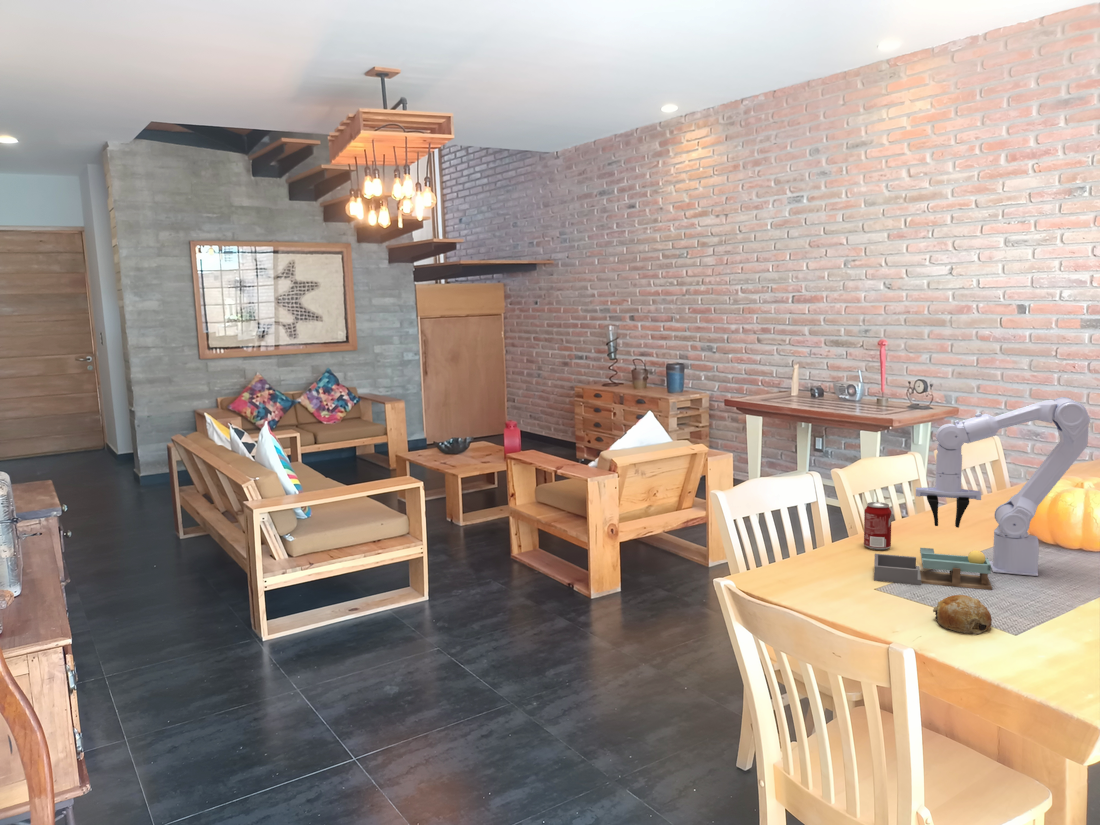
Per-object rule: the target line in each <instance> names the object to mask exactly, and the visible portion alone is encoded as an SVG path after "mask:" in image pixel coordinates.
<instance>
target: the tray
mask: <svg viewBox="0 0 1100 825" xmlns="http://www.w3.org/2000/svg"><path fill="white" fill-rule="evenodd" d="M873 563H874V566H873V567H874V569H873V572H874V573H873V581H875V582H883V583H884V582H885V583H886V582H887V583H895V584H896V583H897V584H905V585H907V584H908V585H916V586H917V585H918V586H922V583H921V575H920V570H921V569H920V566H918V565H917V557H916V556H908V555H899V554H898V555H896V554H884V553H883V554H882V553H874V562H873Z"/></svg>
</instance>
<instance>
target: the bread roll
mask: <svg viewBox="0 0 1100 825" xmlns="http://www.w3.org/2000/svg"><path fill="white" fill-rule="evenodd" d="M932 613H935V614H934V615H935V618H934V619H935V620H936V622H937V624H938V625H939V626H940V627H943V628H944V629H945V630H950V631H953V632H955V633H961V634H971V635H972V634H973V635H980V634H982V633H984V632H986V631H988V630H990V629H991V627H992V623H993V621H992V619H993V618H992V615H991V613H990V611H989V609H988V608H987V607H986V606H985V604H983V603H982V602H981V601H980V599H978V598H973V596H968V595H965V594H954V595H950V596H947V597H945V598H943V599H942V600H940V601H937V605H936V606H934V607H933V609H932Z"/></svg>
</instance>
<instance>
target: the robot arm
mask: <svg viewBox="0 0 1100 825" xmlns="http://www.w3.org/2000/svg"><path fill="white" fill-rule="evenodd" d="M974 415H975V416H973V417H971V418H966V419H964V420H959V419H957V420H954V424H953V423H945V424H943V425H941V426H940V427H939V428H938V429H937V431H936V434H935V438H936V441H937V442H938V444H937V447H936V457H935V461H936V462H935V487H915V497H919V498H920V497H926V500H927V503H928V504H929V507H930V509H931V511H932V515H933V520H934V522H933V523H934V526H935V527H939V516H938V513H939V511H938V510H939V498H945V499H946V498H947V499H950V498H951V499H956V508H955V509H956V510H955V511H956V513H955V521H954V522H955V524H954V526H955V528H957V529H959V528H960V526H961V525H960V524H961V521H962V518H963V516H964V514H965V511H966V510H967V509H968V506H969V505H970V500H976V501H981V500H982V491H981V490H973V489H965V488H962V475H963V474H962V469H963V466H962V465H963V454H962V447H963V446H964V444H971V443H974V442H977V441H978V442H979V441H982V440H985V439H989V438H992V437H995V436H996V435H997V434H998V432H999V430H1001V429H1005V428H1009V427H1010V428H1011V427H1013V426H1017V425H1021V424H1026V423H1030V422H1033V421H1039V422H1044V423H1050V424H1054V425H1055V427H1056V430H1057V433H1058V437H1059V441H1058V443H1057V444H1056V446H1055V447H1054V448H1053V449H1052V450H1051V452H1050V453H1049V454H1048V455H1047V457H1046V458H1045V459H1044V461H1042V462H1041V464H1040V465H1039V466H1038V467H1037V469H1036V470H1035V471H1034V473H1032V475H1031V476H1030V477H1029V479H1028V480H1027V481H1026V483H1025V484H1024V485H1023V486H1022V487H1021V489H1020V490H1019V491H1018V492H1017V493H1016V494H1014V495H1013V496H1011V497H1010V498H1009V500H1008V501H1007V502H1004V503H1003V504H1000V505H999V506H997V507H996V509H995V511H994V519H995V521H996V523H997V524H998V525H997V527H996V528H995V529H994V530H993V549H992V550H993V551H992V552H993V553H992V560H989V562H990V565H991V571H992V572H993V573H999V574H1000V573H1001V574H1012V575H1023V576H1032V577H1033V576H1035V577H1038V576H1039V557H1040V556H1039V555H1040V546H1039V545H1040V544H1039V538H1038V536H1037V535H1031V534H1029V532H1028V531H1029V529H1030V524H1031V521H1032V519H1033V518H1034V517H1035V515H1036V512H1037V511H1038V510H1037V509H1038V507H1039V506H1040V504H1041V503H1042V502H1043V501H1044V499H1045V498H1046V497H1047V496H1048V495H1049V494H1050V492H1051V491H1052V490H1053V488H1055V486H1056V485H1057V483H1058V482H1059V481H1060V480H1061V479H1062V477H1063V476H1064V475H1065V474H1066V472H1067V471H1068V470H1069V469H1070V468H1071V467H1072V465H1074V463H1075V462H1076V460H1077V459H1079V457H1080V455H1081V454H1082V453H1084V451H1085V449H1087V447H1088V443H1089V428H1090V423H1091V418H1090V415H1089V413H1088V410H1087V408H1086V406H1085V405H1083V404H1082V403H1081V402H1079V401H1075V400H1074V399H1073V398H1071V397H1066V396H1061V397H1057V398H1055V399H1046V400H1043V401H1038V402H1035V403H1032V404H1030V405H1027V406H1023V407H1020V408H1017V409H1014V410H1010V411H1008V412H1005V413H1002V414H998V415H996V416H994V415H991V414H989V413H984V414H982V413H981V412H978V413H975V414H974Z"/></svg>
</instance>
